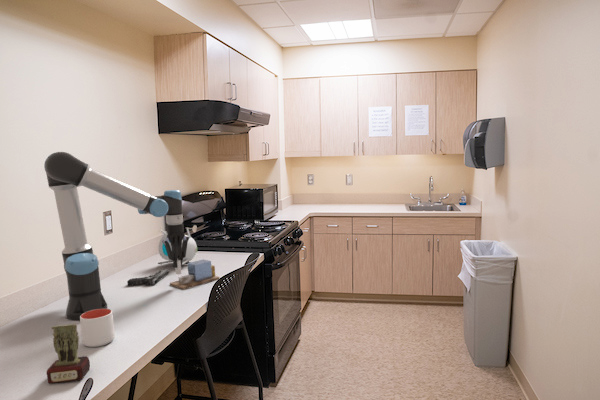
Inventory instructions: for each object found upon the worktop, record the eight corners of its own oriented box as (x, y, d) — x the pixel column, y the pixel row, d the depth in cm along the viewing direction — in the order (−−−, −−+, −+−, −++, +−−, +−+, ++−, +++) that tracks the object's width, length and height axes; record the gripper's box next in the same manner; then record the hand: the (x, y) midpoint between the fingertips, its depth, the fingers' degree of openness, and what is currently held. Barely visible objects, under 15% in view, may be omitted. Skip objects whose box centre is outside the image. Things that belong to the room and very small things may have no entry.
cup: (78, 343, 158) (75, 314, 157) (107, 333, 165) (105, 306, 164) (89, 351, 151) (86, 321, 150) (120, 341, 158) (117, 312, 157)
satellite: (209, 230, 268) (173, 232, 278) (188, 222, 251) (150, 225, 260) (205, 269, 262) (169, 270, 272) (183, 264, 244) (145, 266, 254)
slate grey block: (196, 281, 221) (194, 265, 220) (188, 279, 226) (187, 263, 225) (212, 277, 228) (210, 261, 227) (204, 275, 232) (203, 259, 231)
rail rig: (183, 289, 213) (182, 276, 213) (169, 285, 222) (168, 272, 221) (219, 279, 227) (218, 266, 227) (205, 275, 236) (204, 263, 235)
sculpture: (46, 386, 130) (39, 334, 128) (56, 372, 138) (50, 323, 136) (83, 381, 131) (77, 330, 130) (91, 368, 139) (86, 319, 137)
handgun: (144, 269, 243) (170, 268, 241) (144, 276, 243) (170, 274, 242) (126, 280, 223) (154, 279, 222) (127, 287, 223) (155, 286, 222)
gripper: (166, 226, 208) (170, 278, 211) (191, 222, 218) (195, 272, 220) (157, 225, 214) (161, 275, 216) (182, 221, 223) (186, 269, 225)
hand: (178, 273), depth 218 cm, fingers closed
